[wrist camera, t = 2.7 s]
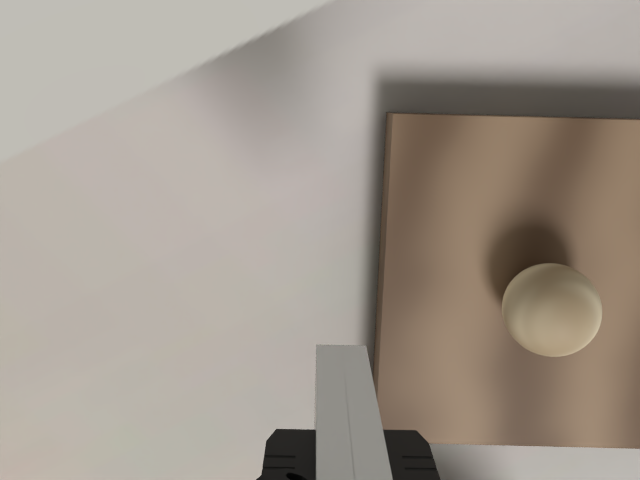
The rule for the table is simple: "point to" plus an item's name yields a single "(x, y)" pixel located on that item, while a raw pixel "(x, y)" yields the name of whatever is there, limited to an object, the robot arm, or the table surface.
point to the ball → (552, 309)
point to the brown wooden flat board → (506, 277)
